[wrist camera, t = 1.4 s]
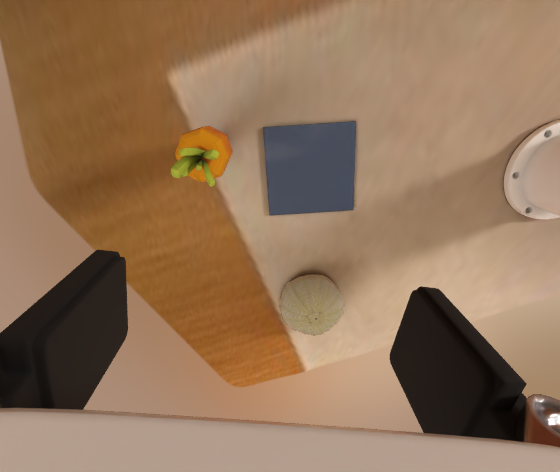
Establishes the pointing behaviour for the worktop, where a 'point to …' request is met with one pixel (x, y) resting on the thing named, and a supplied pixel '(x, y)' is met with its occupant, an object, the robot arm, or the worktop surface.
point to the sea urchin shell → (311, 304)
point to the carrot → (202, 155)
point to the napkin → (310, 167)
